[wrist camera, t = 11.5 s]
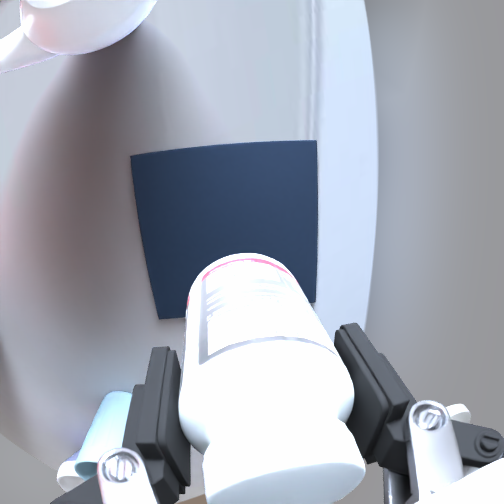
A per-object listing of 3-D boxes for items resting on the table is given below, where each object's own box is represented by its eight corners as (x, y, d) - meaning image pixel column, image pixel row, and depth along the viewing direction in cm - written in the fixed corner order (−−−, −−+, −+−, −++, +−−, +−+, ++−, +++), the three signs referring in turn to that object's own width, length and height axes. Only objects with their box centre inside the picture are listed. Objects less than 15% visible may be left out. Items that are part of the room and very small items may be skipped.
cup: (132, 432, 32) (122, 500, 22) (83, 399, 29) (61, 469, 19) (171, 411, 31) (167, 488, 21) (118, 374, 28) (97, 454, 18)
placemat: (315, 140, 22) (316, 140, 22) (314, 301, 27) (315, 302, 27) (130, 155, 21) (130, 156, 21) (159, 318, 26) (159, 319, 26)
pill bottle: (263, 359, 16) (306, 527, 7) (170, 323, 14) (147, 515, 5) (320, 279, 15) (430, 443, 6) (220, 228, 13) (243, 424, 4)
